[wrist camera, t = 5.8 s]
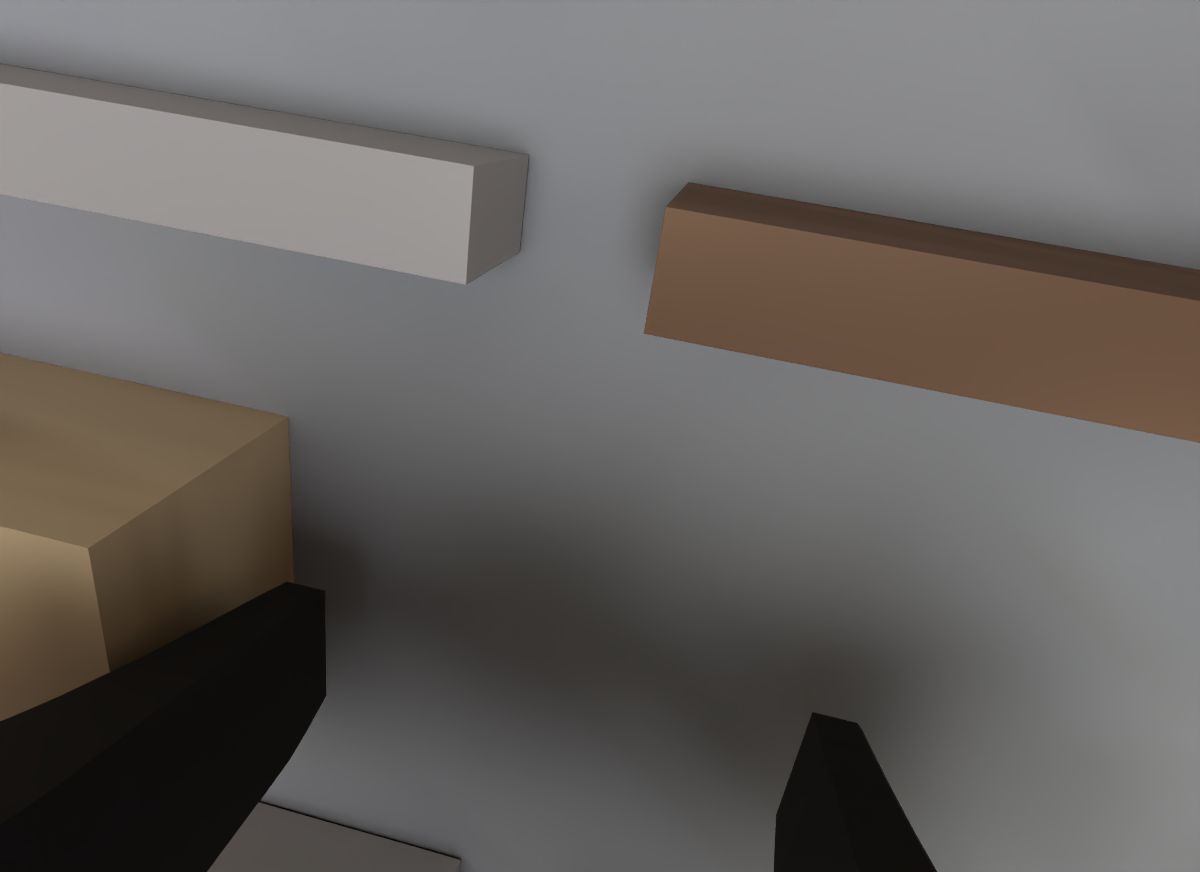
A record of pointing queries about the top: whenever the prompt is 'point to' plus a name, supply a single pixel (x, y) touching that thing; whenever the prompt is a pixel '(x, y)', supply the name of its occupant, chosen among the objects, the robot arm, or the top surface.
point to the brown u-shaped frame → (932, 308)
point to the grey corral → (277, 219)
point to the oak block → (126, 521)
